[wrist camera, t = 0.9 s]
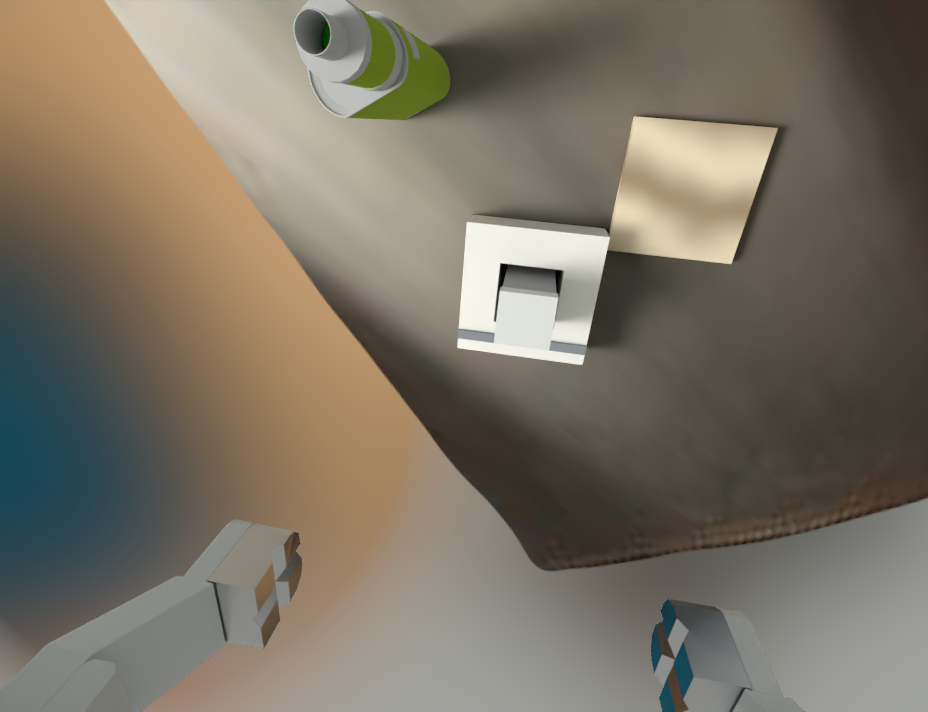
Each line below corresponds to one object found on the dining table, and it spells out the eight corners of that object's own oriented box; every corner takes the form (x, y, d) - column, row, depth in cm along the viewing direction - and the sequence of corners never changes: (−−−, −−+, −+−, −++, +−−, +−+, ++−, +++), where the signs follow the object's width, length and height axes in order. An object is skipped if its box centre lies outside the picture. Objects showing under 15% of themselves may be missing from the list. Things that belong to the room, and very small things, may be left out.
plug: (508, 258, 41) (499, 290, 34) (556, 264, 41) (558, 297, 33) (503, 303, 43) (493, 343, 35) (548, 308, 43) (549, 350, 35)
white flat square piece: (472, 214, 40) (466, 222, 37) (604, 228, 39) (610, 238, 36) (463, 332, 45) (456, 349, 42) (579, 348, 44) (582, 366, 41)
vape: (459, 89, 36) (377, 54, 19) (394, 126, 38) (264, 127, 20) (437, 38, 35) (327, -52, 17) (371, 79, 37) (211, 37, 19)
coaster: (633, 116, 35) (635, 116, 35) (773, 127, 34) (778, 127, 33) (605, 247, 40) (606, 250, 39) (727, 261, 39) (731, 263, 38)
